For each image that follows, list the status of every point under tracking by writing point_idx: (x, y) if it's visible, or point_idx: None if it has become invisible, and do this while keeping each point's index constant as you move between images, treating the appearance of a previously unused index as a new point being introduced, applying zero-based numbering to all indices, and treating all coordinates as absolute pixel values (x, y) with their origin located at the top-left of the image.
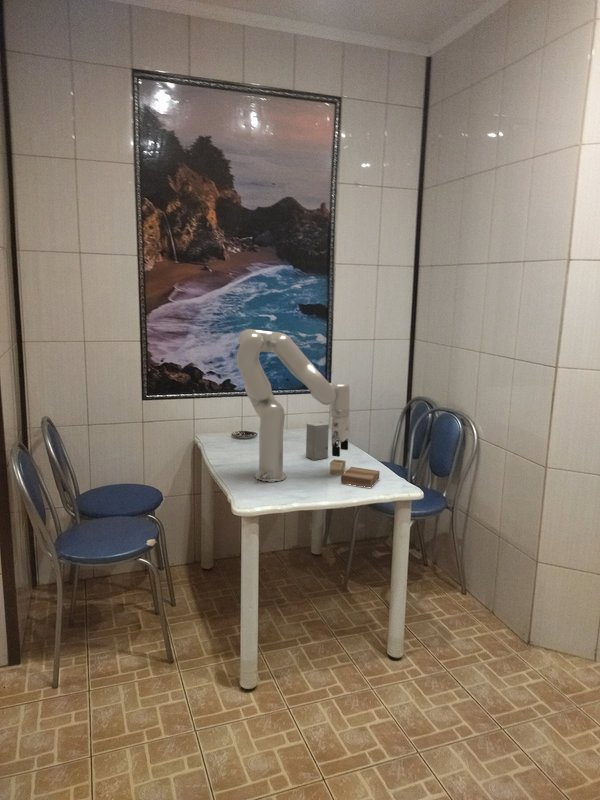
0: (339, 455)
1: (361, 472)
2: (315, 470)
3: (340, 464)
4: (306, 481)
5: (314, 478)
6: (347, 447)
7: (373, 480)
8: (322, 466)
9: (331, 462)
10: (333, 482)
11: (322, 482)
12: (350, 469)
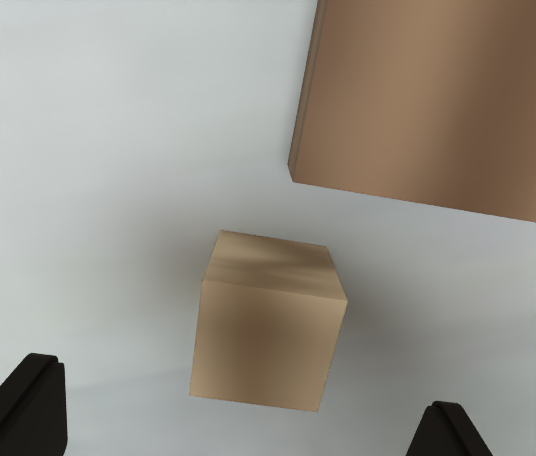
0: (464, 414)
1: (502, 10)
2: (262, 431)
3: (343, 307)
4: (514, 434)
5: None
6: (25, 390)
7: None
8: (151, 409)
9: (318, 400)
10: (518, 270)
11: (525, 343)
12: (402, 174)
